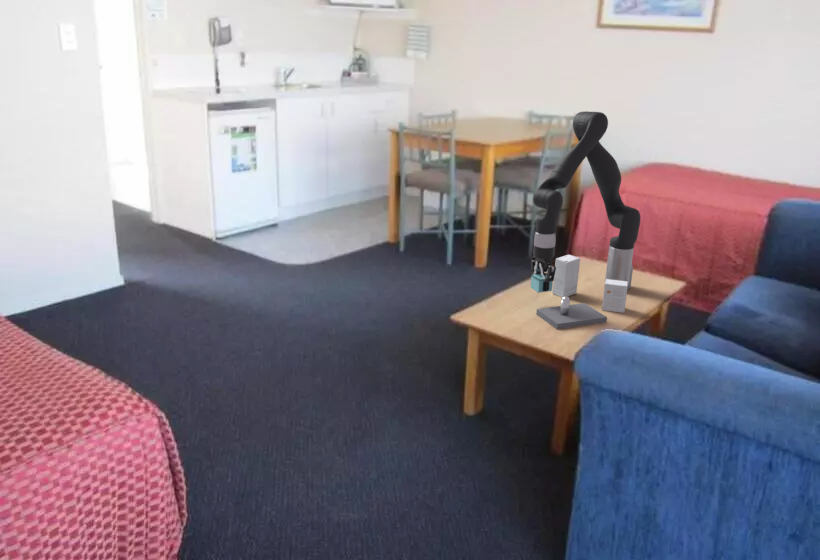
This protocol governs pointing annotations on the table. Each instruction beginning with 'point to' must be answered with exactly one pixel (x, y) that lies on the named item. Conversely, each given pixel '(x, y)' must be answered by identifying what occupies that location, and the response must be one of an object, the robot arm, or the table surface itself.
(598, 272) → the table surface
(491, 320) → the table surface
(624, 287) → the small box
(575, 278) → the skincare box
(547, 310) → the board
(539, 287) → the teal cube
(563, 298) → the post
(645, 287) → the table surface
